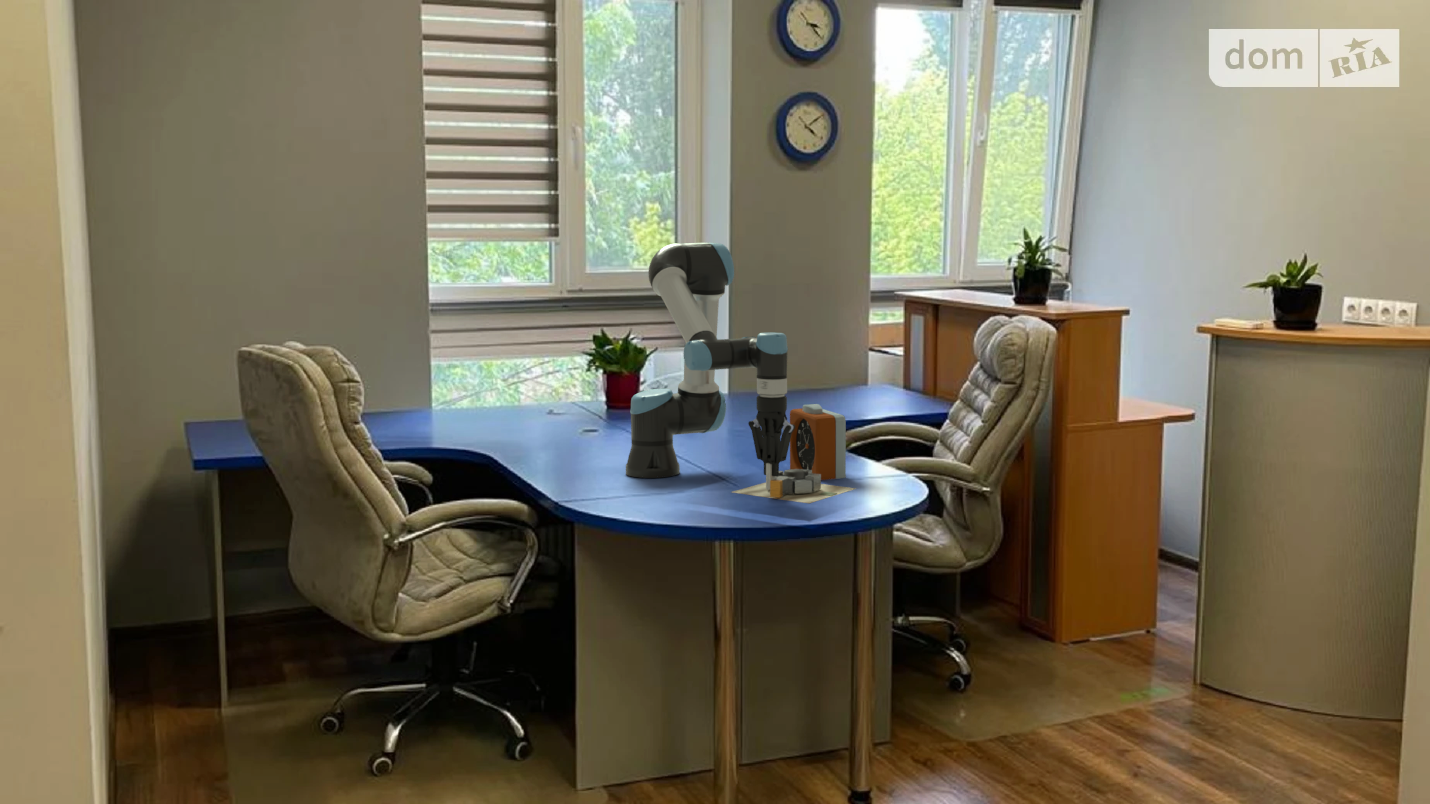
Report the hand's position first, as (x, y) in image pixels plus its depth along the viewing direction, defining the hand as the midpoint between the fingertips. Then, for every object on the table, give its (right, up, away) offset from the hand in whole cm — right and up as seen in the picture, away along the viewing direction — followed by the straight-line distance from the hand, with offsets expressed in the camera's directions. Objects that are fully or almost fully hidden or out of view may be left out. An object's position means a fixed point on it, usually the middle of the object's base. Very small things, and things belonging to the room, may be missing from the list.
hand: (771, 488), depth 337 cm
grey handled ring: (+5, -1, +5) cm, 7 cm away
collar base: (+6, -2, +8) cm, 10 cm away
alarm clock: (+14, 0, +31) cm, 34 cm away
